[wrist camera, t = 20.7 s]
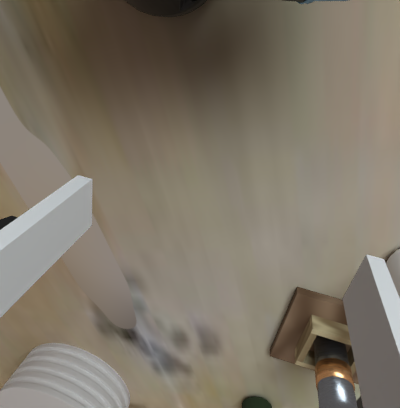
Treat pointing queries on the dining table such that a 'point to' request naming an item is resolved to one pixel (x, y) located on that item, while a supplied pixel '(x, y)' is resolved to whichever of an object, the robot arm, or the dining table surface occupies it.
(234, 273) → the dining table surface
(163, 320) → the dining table surface
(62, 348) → the plate stack
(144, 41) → the dining table surface
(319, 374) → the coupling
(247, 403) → the character mug
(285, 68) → the dining table surface
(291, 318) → the socket
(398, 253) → the potion bottle
